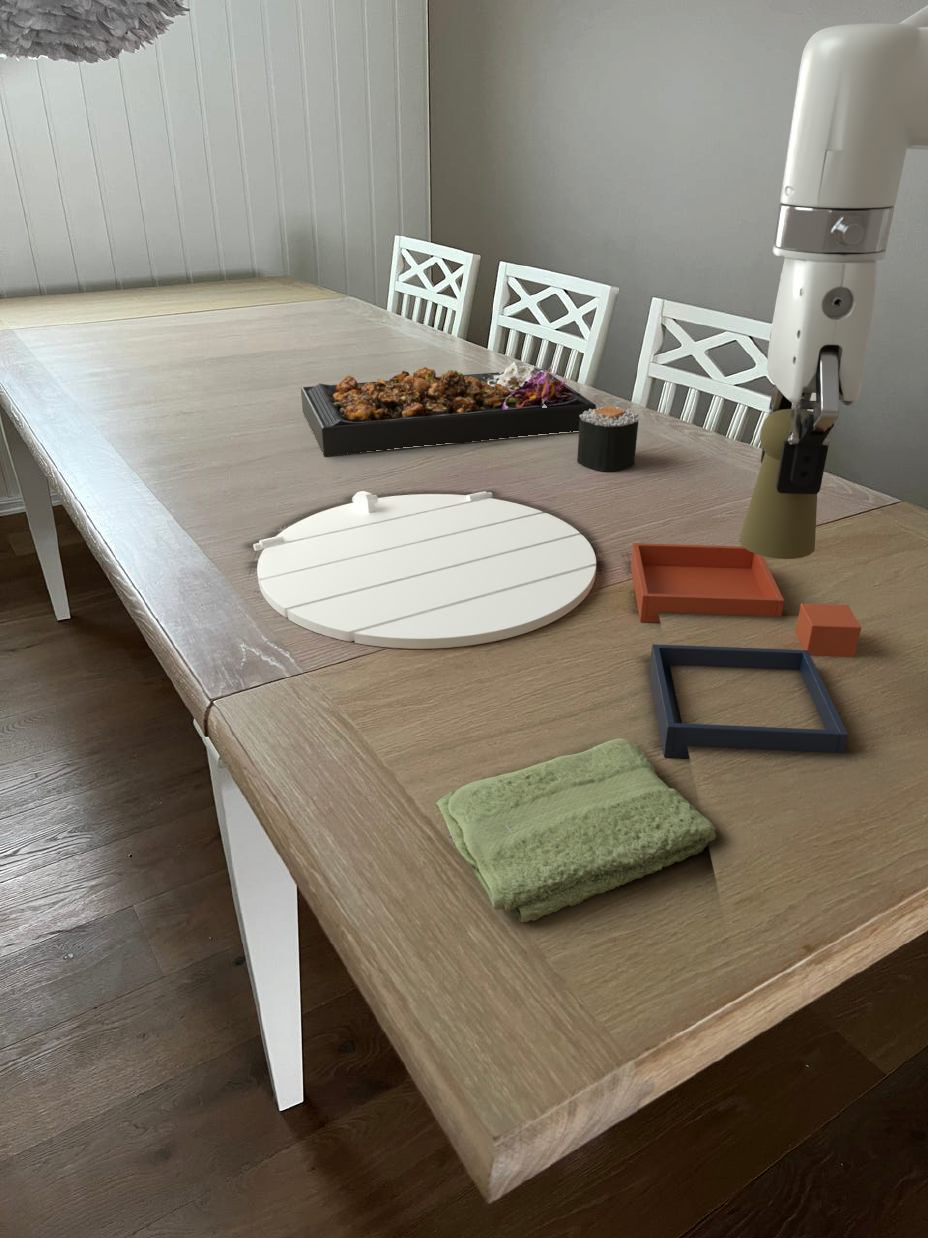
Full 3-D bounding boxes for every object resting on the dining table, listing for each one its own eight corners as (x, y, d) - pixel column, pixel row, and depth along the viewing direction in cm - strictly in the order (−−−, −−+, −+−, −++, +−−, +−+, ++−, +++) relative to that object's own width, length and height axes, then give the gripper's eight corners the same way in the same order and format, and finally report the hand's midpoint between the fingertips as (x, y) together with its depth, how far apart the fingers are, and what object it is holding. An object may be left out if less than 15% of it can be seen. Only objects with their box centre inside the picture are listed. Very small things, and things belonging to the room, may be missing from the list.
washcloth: (427, 814, 70) (426, 781, 68) (626, 757, 76) (630, 725, 75) (501, 939, 59) (502, 902, 58) (726, 861, 66) (732, 826, 64)
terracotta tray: (754, 571, 107) (758, 546, 105) (779, 627, 95) (784, 600, 94) (630, 567, 108) (632, 542, 106) (640, 622, 96) (642, 595, 95)
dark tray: (802, 678, 86) (808, 649, 85) (840, 765, 75) (848, 734, 73) (648, 672, 88) (651, 644, 86) (663, 757, 76) (667, 726, 75)
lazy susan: (211, 538, 115) (208, 512, 114) (479, 481, 133) (479, 458, 131) (342, 689, 85) (340, 657, 83) (667, 590, 102) (670, 561, 101)
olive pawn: (806, 564, 73) (832, 428, 67) (729, 549, 75) (749, 416, 70) (822, 537, 77) (847, 408, 72) (749, 523, 80) (769, 397, 75)
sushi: (567, 461, 140) (570, 409, 136) (604, 450, 144) (608, 399, 141) (607, 475, 134) (612, 422, 130) (644, 463, 139) (649, 410, 135)
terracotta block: (839, 644, 92) (848, 604, 90) (852, 668, 88) (861, 627, 86) (792, 642, 92) (800, 603, 90) (803, 666, 88) (812, 625, 86)
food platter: (542, 392, 174) (544, 336, 169) (594, 430, 153) (598, 368, 148) (302, 412, 163) (297, 353, 158) (324, 456, 142) (318, 389, 137)
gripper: (929, 249, 57) (868, 522, 66) (852, 220, 72) (810, 445, 81) (805, 249, 58) (761, 519, 66) (753, 220, 73) (723, 443, 81)
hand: (788, 476), depth 73 cm, fingers closed on olive pawn, 5 cm apart
